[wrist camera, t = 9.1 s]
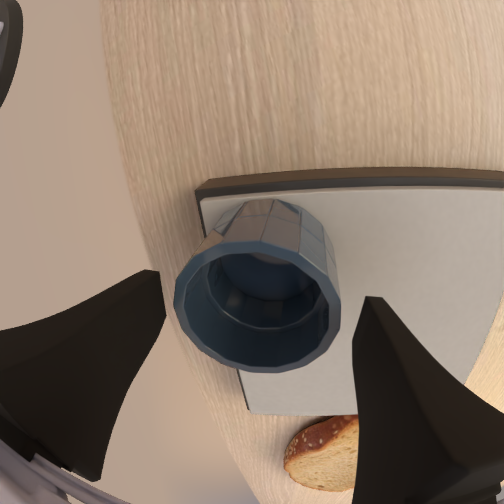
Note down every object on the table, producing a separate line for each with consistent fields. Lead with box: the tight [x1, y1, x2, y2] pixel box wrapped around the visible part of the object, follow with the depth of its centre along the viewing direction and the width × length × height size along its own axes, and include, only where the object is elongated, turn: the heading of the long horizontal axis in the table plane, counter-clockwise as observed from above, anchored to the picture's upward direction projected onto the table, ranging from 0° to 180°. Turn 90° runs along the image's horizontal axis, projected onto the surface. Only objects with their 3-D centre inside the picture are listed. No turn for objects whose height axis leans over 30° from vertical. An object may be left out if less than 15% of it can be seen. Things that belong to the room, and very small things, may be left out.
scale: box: [195, 167, 504, 416], centre depth 16 cm, size 17×17×3 cm
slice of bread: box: [284, 414, 359, 492], centre depth 25 cm, size 18×18×4 cm
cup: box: [173, 198, 341, 374], centre depth 12 cm, size 6×6×4 cm
